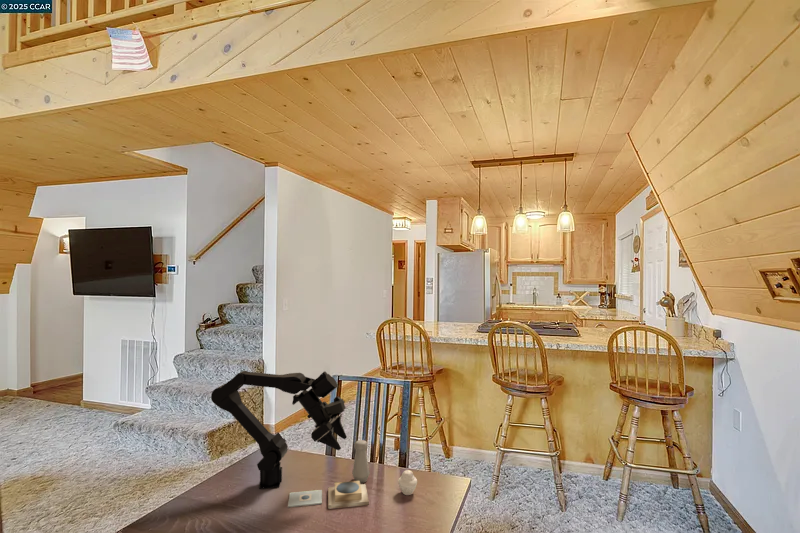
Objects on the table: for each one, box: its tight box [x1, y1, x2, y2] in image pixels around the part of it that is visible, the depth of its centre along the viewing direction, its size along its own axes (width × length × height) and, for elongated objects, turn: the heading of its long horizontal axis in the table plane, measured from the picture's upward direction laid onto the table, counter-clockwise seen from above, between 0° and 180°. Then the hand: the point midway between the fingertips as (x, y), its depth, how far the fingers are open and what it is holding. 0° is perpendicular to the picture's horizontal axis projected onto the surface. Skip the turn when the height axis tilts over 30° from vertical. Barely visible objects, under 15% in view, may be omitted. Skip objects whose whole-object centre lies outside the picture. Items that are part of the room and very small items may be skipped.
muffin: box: [397, 469, 418, 496], centre depth 134 cm, size 6×6×7 cm
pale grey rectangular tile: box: [287, 489, 323, 508], centre depth 130 cm, size 10×8×1 cm
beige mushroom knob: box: [351, 439, 370, 484], centre depth 142 cm, size 6×6×13 cm
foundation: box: [327, 480, 370, 510], centre depth 131 cm, size 12×11×3 cm
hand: (342, 443), depth 139 cm, fingers open, 9 cm apart
